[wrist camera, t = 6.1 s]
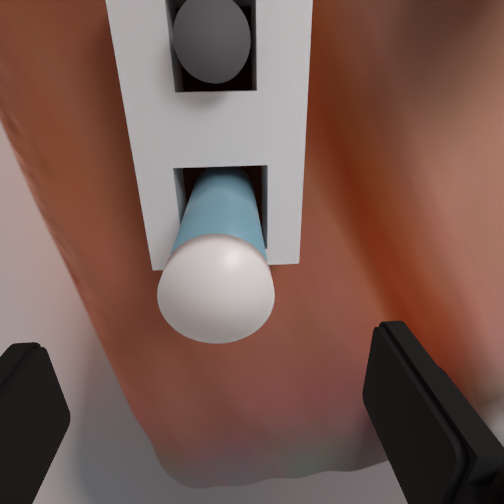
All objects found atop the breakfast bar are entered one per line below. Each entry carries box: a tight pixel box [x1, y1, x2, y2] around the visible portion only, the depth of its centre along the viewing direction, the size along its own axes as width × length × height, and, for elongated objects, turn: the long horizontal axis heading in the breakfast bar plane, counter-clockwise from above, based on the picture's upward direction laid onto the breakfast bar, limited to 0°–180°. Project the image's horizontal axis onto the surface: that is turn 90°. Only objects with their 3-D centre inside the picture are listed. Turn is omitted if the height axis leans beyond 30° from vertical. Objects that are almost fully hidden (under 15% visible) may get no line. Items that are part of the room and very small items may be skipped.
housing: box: [105, 0, 313, 270], centre depth 21 cm, size 16×10×4 cm, turn 1°
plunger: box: [173, 0, 251, 84], centre depth 18 cm, size 4×4×5 cm
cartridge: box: [157, 166, 275, 344], centre depth 19 cm, size 4×4×13 cm
